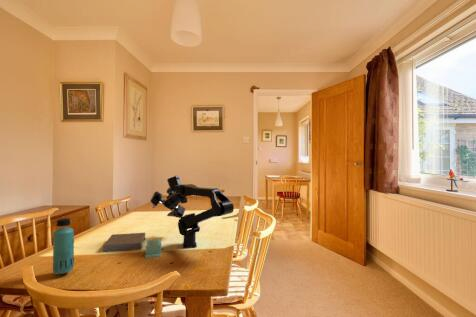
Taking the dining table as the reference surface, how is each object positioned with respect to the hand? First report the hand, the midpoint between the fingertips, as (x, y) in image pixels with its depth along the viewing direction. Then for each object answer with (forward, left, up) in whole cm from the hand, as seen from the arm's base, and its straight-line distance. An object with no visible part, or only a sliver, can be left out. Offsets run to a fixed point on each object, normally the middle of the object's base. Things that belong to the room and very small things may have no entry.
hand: (160, 211), depth 136 cm
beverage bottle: (-39, +31, -13) cm, 52 cm away
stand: (-11, +15, -13) cm, 23 cm away
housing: (-24, +1, -13) cm, 27 cm away
